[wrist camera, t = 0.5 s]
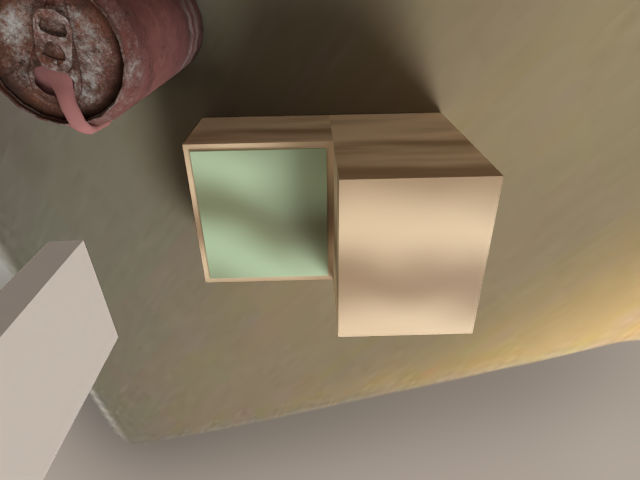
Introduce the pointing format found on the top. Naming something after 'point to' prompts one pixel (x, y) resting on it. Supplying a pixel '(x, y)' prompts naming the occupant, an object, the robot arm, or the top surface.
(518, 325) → the top surface
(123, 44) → the can
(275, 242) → the stand
